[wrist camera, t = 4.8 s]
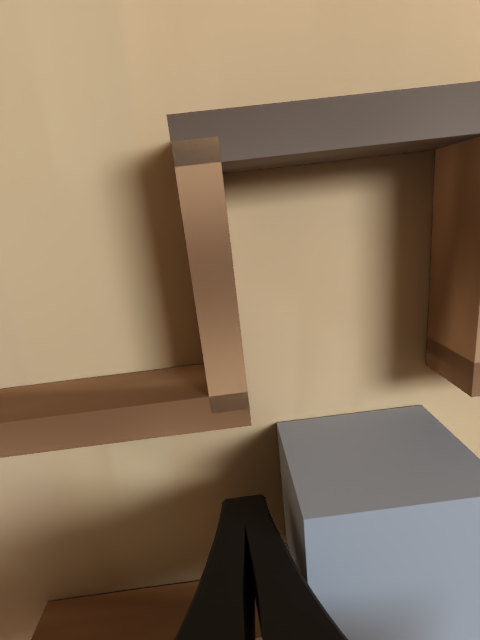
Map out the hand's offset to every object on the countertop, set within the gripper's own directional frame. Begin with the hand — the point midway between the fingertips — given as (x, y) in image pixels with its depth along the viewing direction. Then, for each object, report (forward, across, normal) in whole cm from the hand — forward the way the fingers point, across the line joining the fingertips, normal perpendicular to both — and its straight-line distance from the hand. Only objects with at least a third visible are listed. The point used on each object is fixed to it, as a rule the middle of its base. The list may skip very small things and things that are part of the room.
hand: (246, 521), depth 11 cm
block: (+1, -4, 0) cm, 4 cm away
